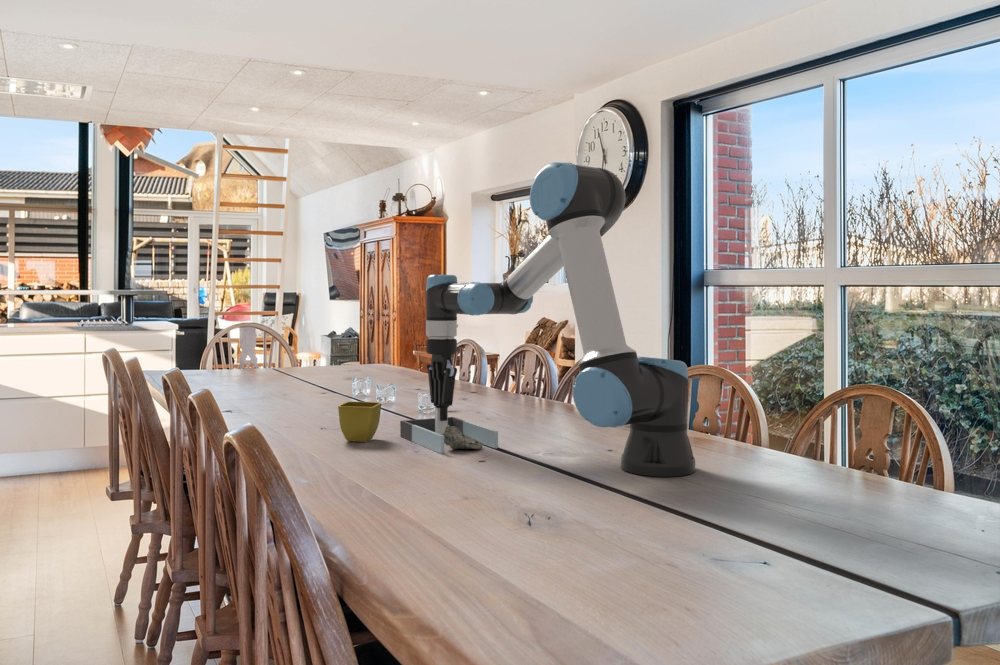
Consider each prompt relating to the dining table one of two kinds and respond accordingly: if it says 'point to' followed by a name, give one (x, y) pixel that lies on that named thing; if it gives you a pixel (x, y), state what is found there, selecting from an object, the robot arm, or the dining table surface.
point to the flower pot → (359, 420)
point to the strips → (469, 429)
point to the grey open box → (426, 425)
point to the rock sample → (459, 439)
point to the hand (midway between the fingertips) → (441, 433)
